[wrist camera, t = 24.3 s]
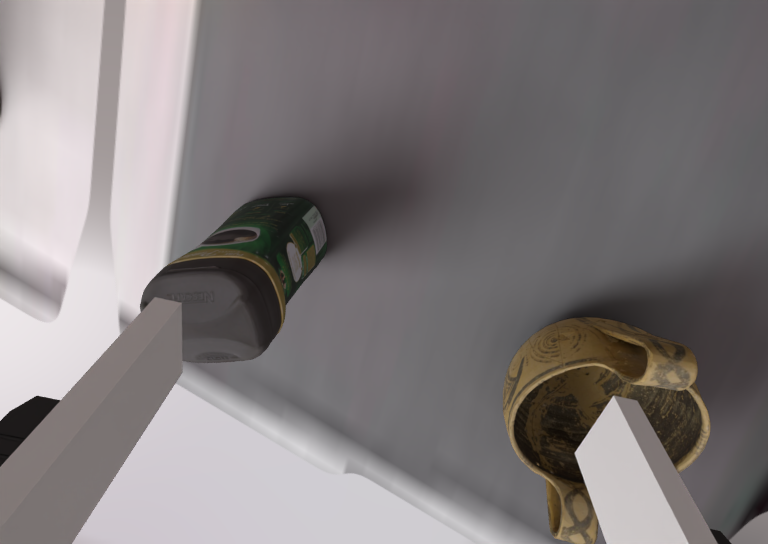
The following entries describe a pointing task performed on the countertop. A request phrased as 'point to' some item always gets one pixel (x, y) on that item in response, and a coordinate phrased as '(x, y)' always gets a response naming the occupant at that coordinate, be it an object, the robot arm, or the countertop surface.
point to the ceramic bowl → (596, 405)
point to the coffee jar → (242, 279)
